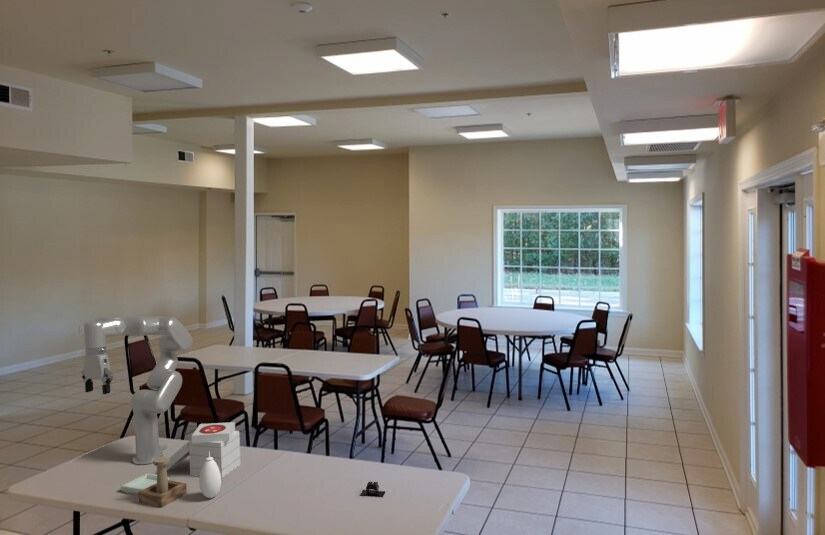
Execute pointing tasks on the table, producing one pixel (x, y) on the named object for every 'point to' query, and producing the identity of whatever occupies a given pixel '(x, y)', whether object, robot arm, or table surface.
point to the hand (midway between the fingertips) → (97, 392)
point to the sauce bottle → (210, 478)
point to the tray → (140, 484)
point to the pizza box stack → (211, 448)
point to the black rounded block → (374, 491)
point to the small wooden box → (161, 500)
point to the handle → (161, 474)
